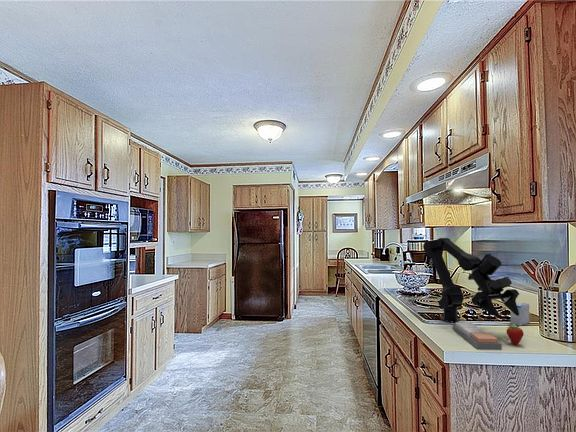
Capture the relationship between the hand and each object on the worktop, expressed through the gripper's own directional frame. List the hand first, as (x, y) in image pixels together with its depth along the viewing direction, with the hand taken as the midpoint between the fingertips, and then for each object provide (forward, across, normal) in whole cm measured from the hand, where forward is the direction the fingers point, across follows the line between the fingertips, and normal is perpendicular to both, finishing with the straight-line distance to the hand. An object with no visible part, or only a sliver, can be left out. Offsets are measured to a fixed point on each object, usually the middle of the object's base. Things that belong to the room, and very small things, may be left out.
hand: (508, 316), depth 134 cm
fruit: (+9, 0, +5) cm, 10 cm away
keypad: (+2, -9, +12) cm, 15 cm away
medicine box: (-6, +26, +20) cm, 33 cm away
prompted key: (+6, -12, +6) cm, 14 cm away
